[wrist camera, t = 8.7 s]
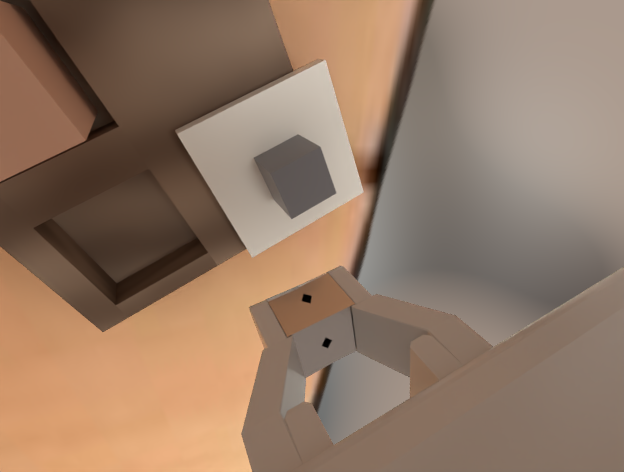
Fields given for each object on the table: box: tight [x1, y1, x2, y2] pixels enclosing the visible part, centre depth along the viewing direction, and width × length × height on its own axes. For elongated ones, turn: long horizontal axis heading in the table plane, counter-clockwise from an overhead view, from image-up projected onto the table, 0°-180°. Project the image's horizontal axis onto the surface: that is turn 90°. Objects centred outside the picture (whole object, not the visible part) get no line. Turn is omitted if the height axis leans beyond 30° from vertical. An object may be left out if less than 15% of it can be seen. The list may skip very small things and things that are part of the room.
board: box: [0, 0, 293, 332], centre depth 20 cm, size 18×18×4 cm
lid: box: [175, 59, 363, 258], centre depth 20 cm, size 9×9×4 cm
